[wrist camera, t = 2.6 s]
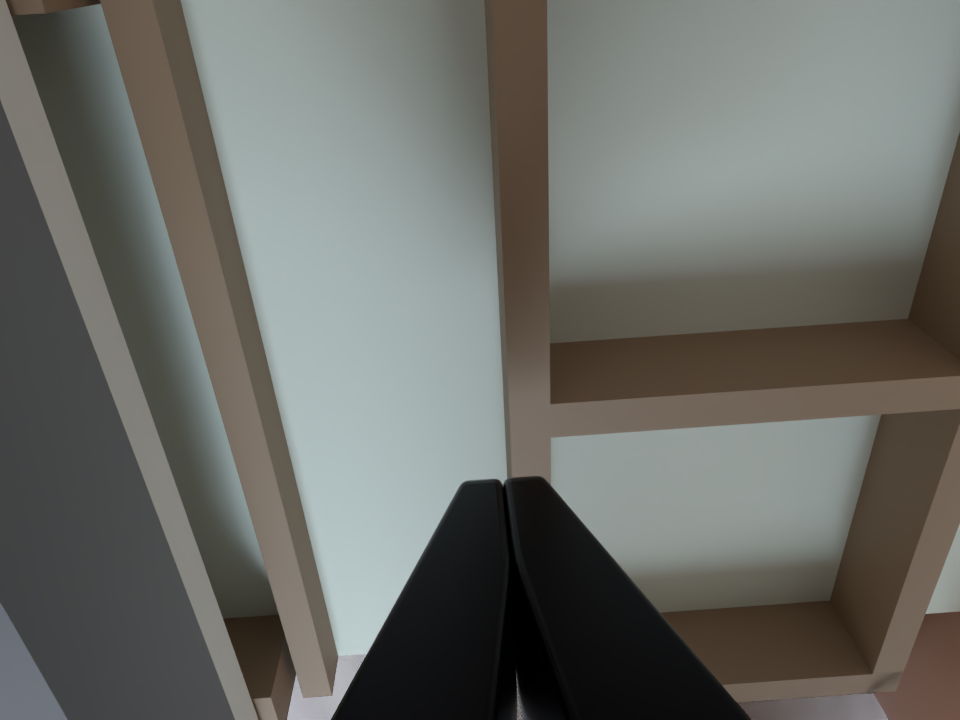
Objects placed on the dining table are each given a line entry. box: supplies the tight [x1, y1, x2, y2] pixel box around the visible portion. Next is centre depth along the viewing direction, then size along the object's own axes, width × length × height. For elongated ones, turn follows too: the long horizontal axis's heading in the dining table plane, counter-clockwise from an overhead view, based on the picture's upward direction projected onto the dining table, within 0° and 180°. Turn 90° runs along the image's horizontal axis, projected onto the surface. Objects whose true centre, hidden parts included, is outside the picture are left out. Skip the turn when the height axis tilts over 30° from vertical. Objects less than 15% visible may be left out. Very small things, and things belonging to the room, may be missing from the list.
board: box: [6, 0, 960, 720], centre depth 10 cm, size 12×24×3 cm, turn 93°
